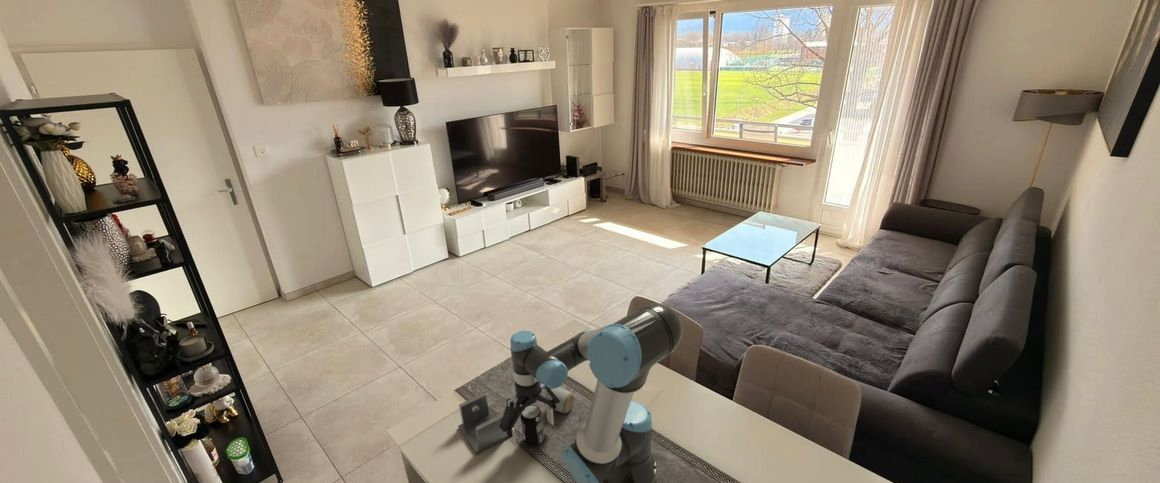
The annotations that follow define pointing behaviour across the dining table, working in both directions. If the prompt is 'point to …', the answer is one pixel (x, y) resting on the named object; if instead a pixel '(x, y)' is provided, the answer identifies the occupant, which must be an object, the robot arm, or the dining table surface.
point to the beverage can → (532, 425)
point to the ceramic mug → (562, 399)
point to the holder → (480, 424)
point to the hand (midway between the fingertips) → (532, 432)
